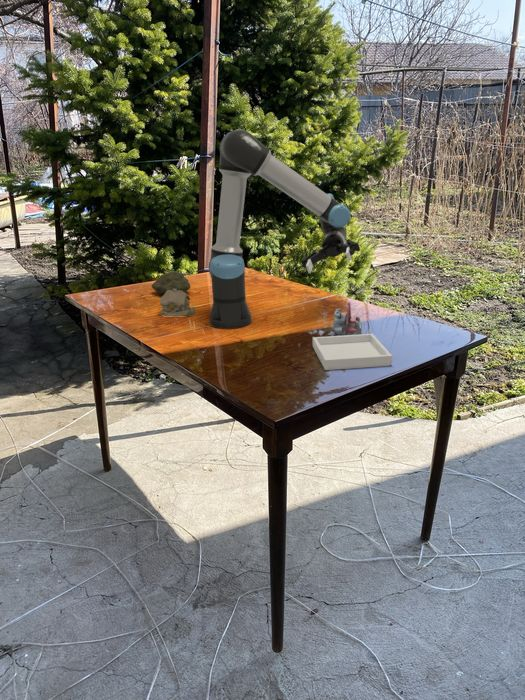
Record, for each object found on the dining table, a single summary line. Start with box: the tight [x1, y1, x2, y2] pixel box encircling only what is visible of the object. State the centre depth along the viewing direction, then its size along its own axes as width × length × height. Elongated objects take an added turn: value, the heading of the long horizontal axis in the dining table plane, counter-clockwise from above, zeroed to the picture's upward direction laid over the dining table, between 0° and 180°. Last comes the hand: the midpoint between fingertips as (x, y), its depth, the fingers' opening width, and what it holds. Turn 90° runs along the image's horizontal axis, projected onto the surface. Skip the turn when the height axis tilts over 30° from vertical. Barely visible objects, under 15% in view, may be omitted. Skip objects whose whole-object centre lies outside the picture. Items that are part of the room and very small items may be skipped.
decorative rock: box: [151, 270, 191, 294], centre depth 229 cm, size 15×16×10 cm
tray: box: [312, 333, 393, 371], centre depth 156 cm, size 19×19×3 cm
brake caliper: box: [331, 301, 363, 336], centre depth 173 cm, size 11×11×12 cm
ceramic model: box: [159, 288, 196, 317], centre depth 201 cm, size 14×11×10 cm
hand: (327, 263), depth 171 cm, fingers open, 13 cm apart
